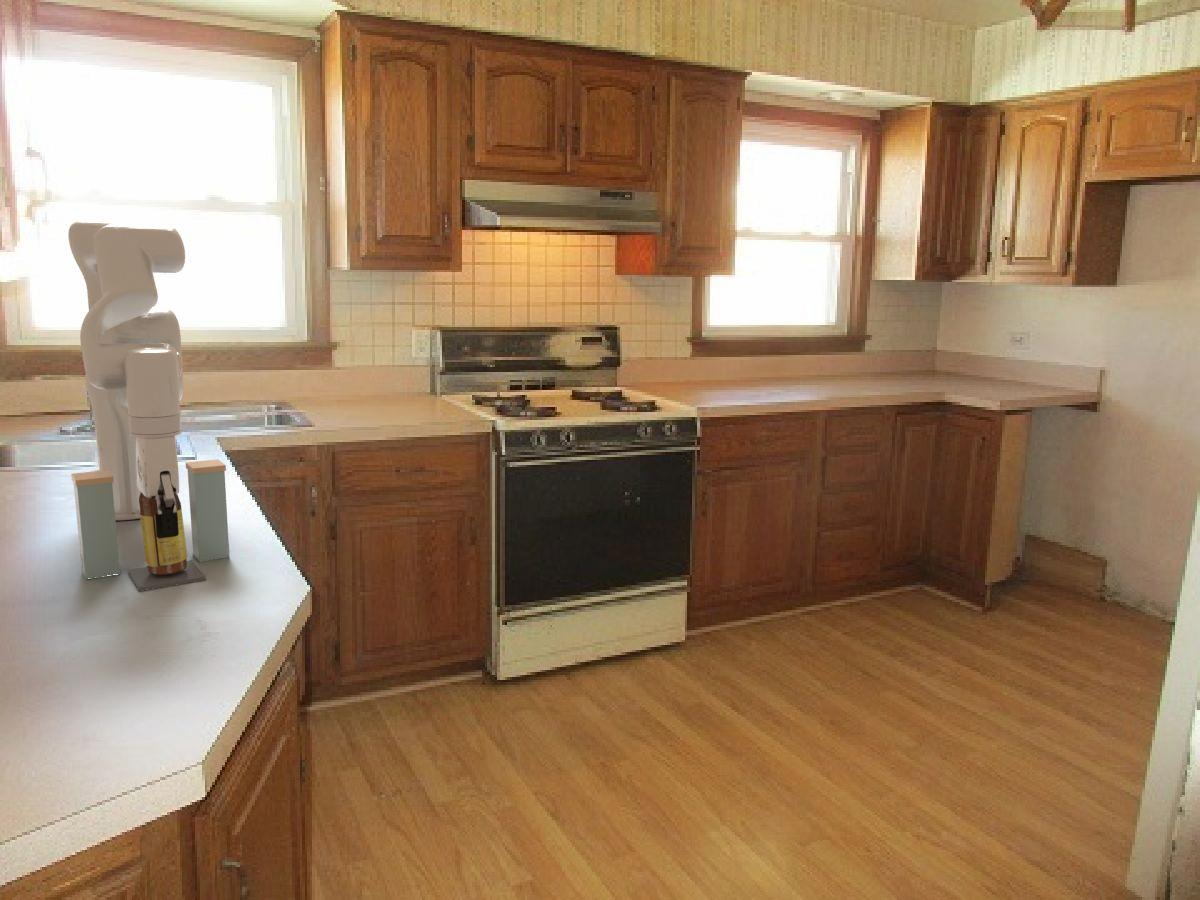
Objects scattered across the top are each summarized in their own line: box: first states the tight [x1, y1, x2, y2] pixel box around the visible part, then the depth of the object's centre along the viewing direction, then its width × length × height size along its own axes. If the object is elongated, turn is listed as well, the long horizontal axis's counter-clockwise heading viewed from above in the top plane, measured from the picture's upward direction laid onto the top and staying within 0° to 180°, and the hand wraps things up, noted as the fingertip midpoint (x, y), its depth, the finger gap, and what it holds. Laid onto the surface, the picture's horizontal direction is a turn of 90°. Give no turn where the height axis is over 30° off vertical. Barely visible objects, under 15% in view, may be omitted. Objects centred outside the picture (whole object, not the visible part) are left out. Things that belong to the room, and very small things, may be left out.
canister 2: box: [185, 458, 230, 562], centre depth 156 cm, size 5×5×17 cm
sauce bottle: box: [139, 481, 188, 575], centre depth 145 cm, size 6×6×20 cm
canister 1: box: [70, 470, 121, 580], centre depth 146 cm, size 5×5×17 cm
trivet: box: [127, 559, 207, 592], centre depth 147 cm, size 10×10×1 cm
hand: (163, 530), depth 146 cm, fingers open, 6 cm apart
